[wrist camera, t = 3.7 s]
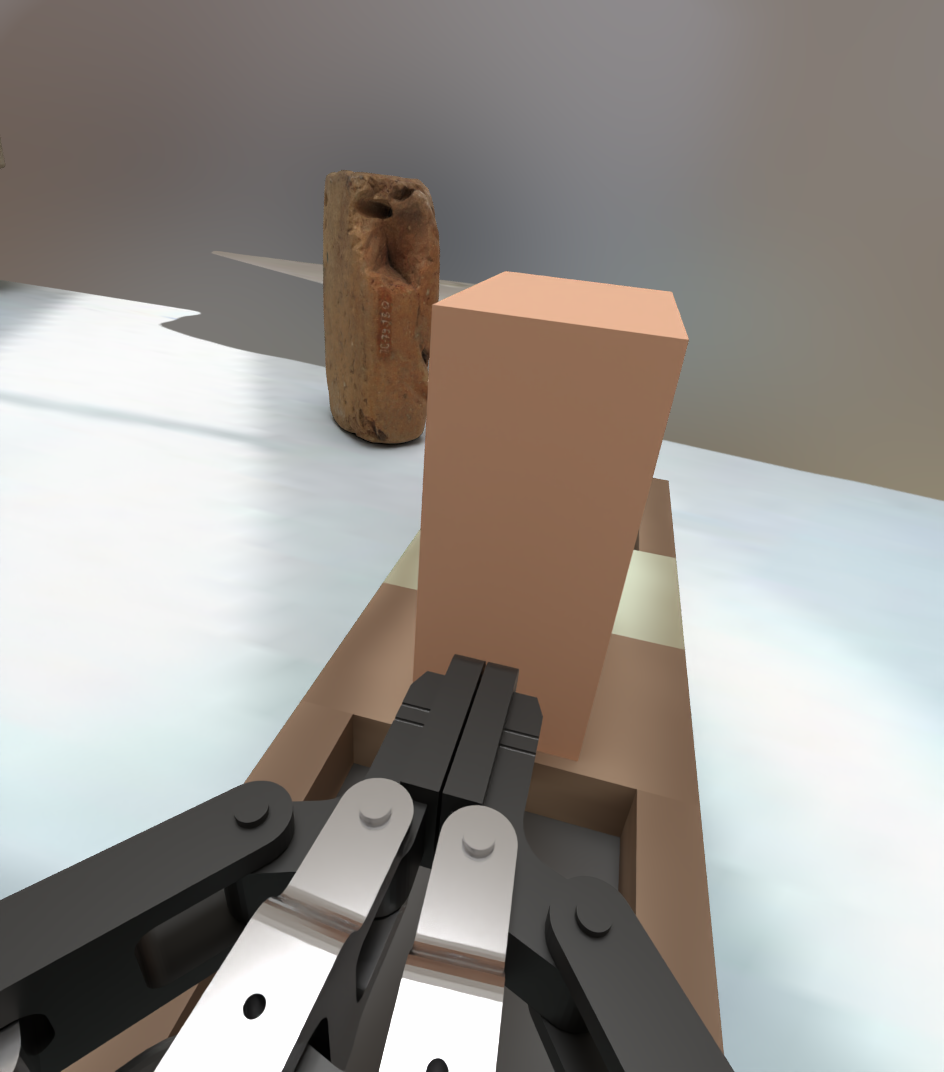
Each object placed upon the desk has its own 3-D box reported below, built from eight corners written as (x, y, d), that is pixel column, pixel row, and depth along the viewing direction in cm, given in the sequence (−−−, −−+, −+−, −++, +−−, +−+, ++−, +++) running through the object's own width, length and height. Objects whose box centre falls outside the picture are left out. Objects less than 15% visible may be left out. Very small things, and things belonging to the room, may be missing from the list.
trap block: (410, 717, 21) (432, 304, 14) (472, 583, 29) (505, 271, 22) (577, 761, 20) (688, 339, 13) (595, 609, 28) (671, 291, 21)
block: (322, 411, 57) (313, 167, 47) (396, 406, 60) (401, 176, 50) (357, 454, 49) (355, 170, 39) (440, 445, 52) (458, 181, 42)
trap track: (75, 1130, 14) (39, 1077, 12) (473, 483, 46) (477, 446, 44) (703, 1398, 11) (754, 1374, 10) (658, 517, 44) (668, 480, 42)
